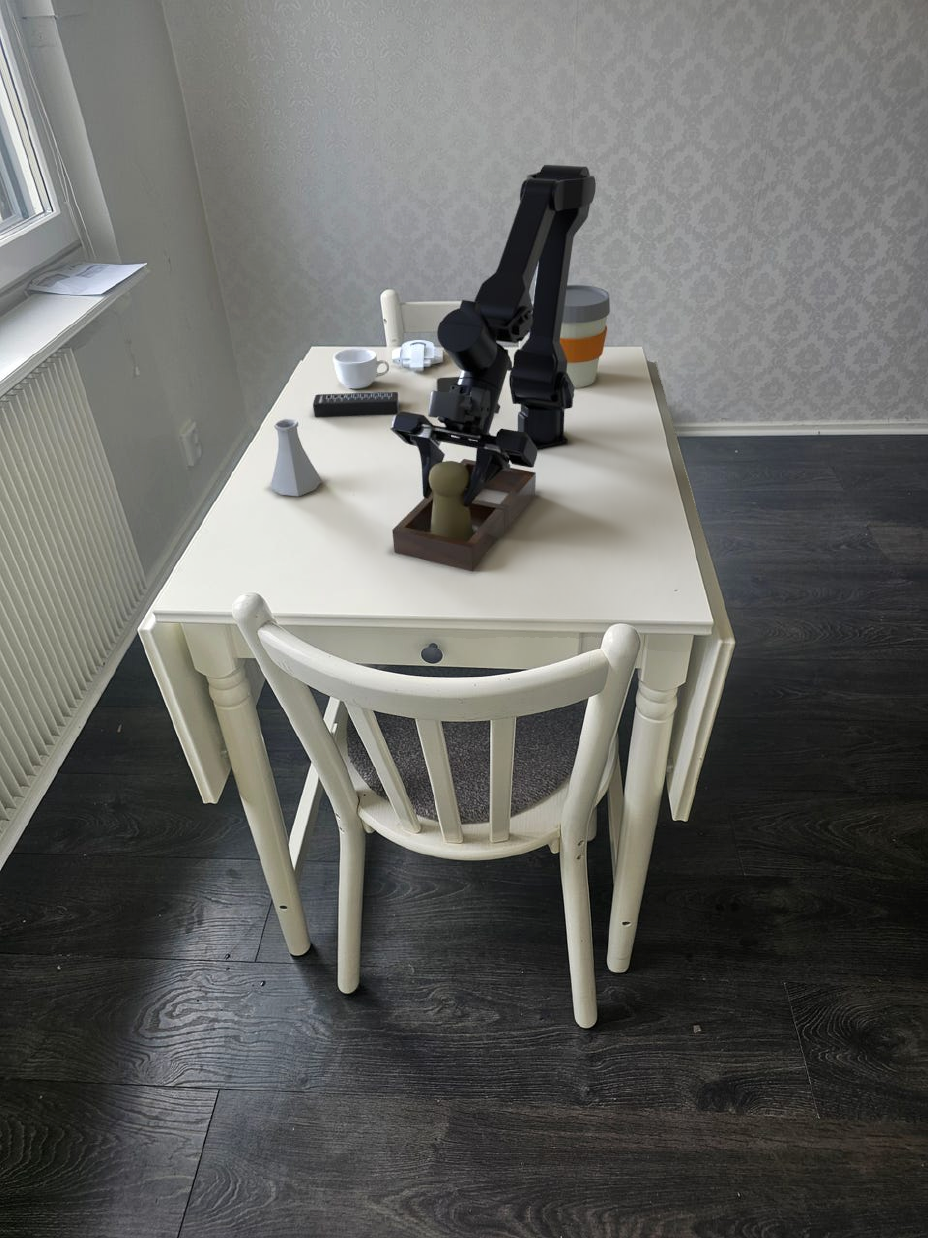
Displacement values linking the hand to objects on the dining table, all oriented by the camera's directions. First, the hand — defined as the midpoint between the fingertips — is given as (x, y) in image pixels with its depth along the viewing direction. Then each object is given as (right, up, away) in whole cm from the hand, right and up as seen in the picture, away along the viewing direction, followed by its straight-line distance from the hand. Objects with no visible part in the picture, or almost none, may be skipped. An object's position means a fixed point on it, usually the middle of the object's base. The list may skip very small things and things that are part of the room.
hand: (445, 501), depth 110 cm
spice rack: (+3, -2, +9) cm, 9 cm away
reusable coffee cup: (+22, +29, +48) cm, 60 cm away
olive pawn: (+1, -5, +5) cm, 7 cm away
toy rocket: (-7, +36, +58) cm, 69 cm away
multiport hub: (-16, +21, +40) cm, 48 cm away
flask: (-23, +5, +19) cm, 30 cm away
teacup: (-16, +28, +49) cm, 59 cm away
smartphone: (+1, +24, +42) cm, 49 cm away
